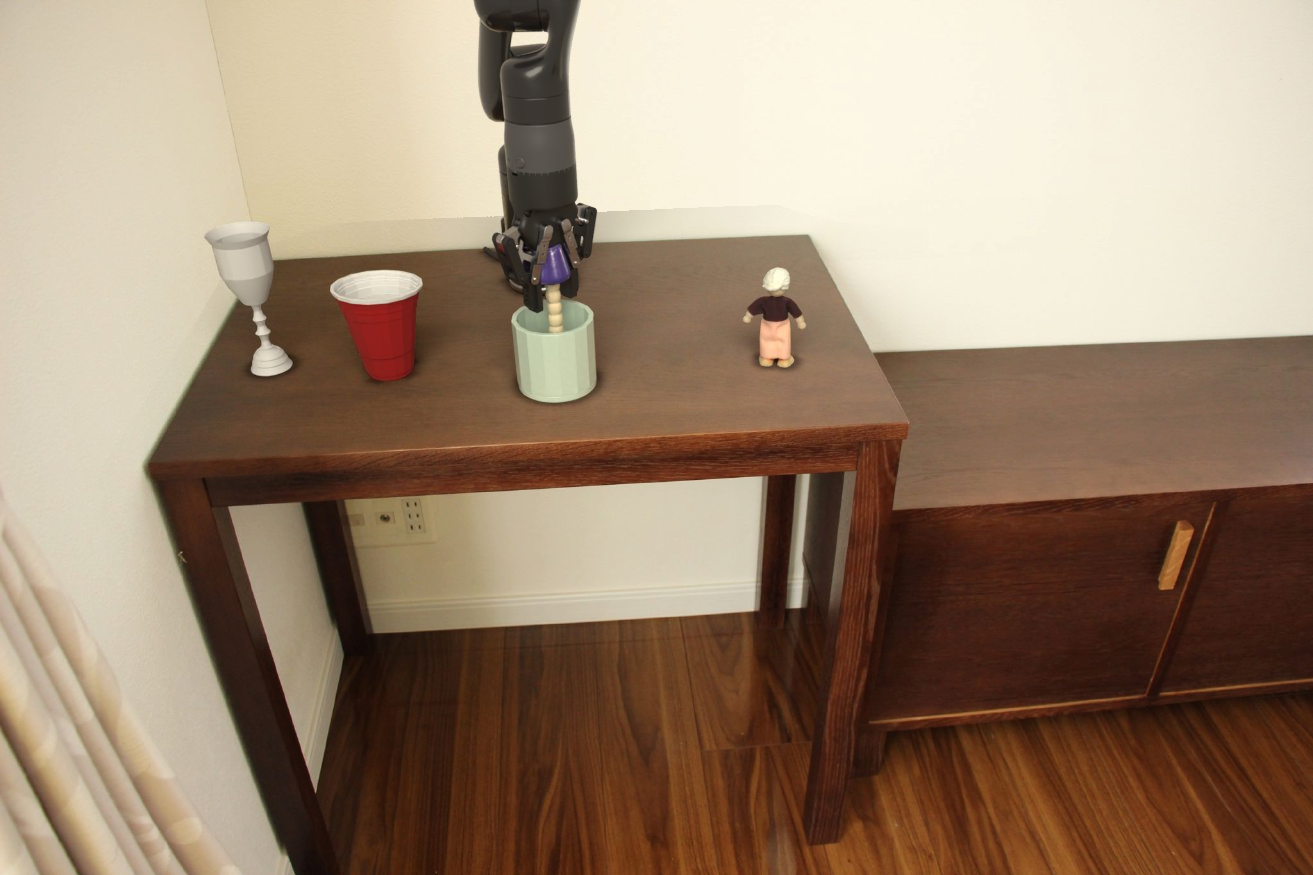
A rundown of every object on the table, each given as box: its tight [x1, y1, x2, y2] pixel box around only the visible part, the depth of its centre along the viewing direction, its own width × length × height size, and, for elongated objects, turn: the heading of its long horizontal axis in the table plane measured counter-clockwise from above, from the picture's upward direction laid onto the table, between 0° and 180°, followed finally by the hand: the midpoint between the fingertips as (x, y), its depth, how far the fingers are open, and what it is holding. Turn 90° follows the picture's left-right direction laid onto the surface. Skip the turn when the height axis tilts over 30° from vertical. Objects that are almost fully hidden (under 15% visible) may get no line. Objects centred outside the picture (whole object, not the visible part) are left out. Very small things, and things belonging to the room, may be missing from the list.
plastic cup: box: [329, 269, 423, 382], centre depth 121 cm, size 11×11×12 cm
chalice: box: [203, 220, 294, 377], centre depth 121 cm, size 7×7×18 cm
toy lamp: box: [533, 244, 571, 333], centre depth 116 cm, size 5×5×17 cm
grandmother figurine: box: [742, 266, 807, 368], centre depth 122 cm, size 8×4×13 cm, turn 89°
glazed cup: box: [510, 298, 598, 404], centre depth 119 cm, size 10×10×9 cm
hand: (552, 302), depth 115 cm, fingers closed on toy lamp, 4 cm apart
